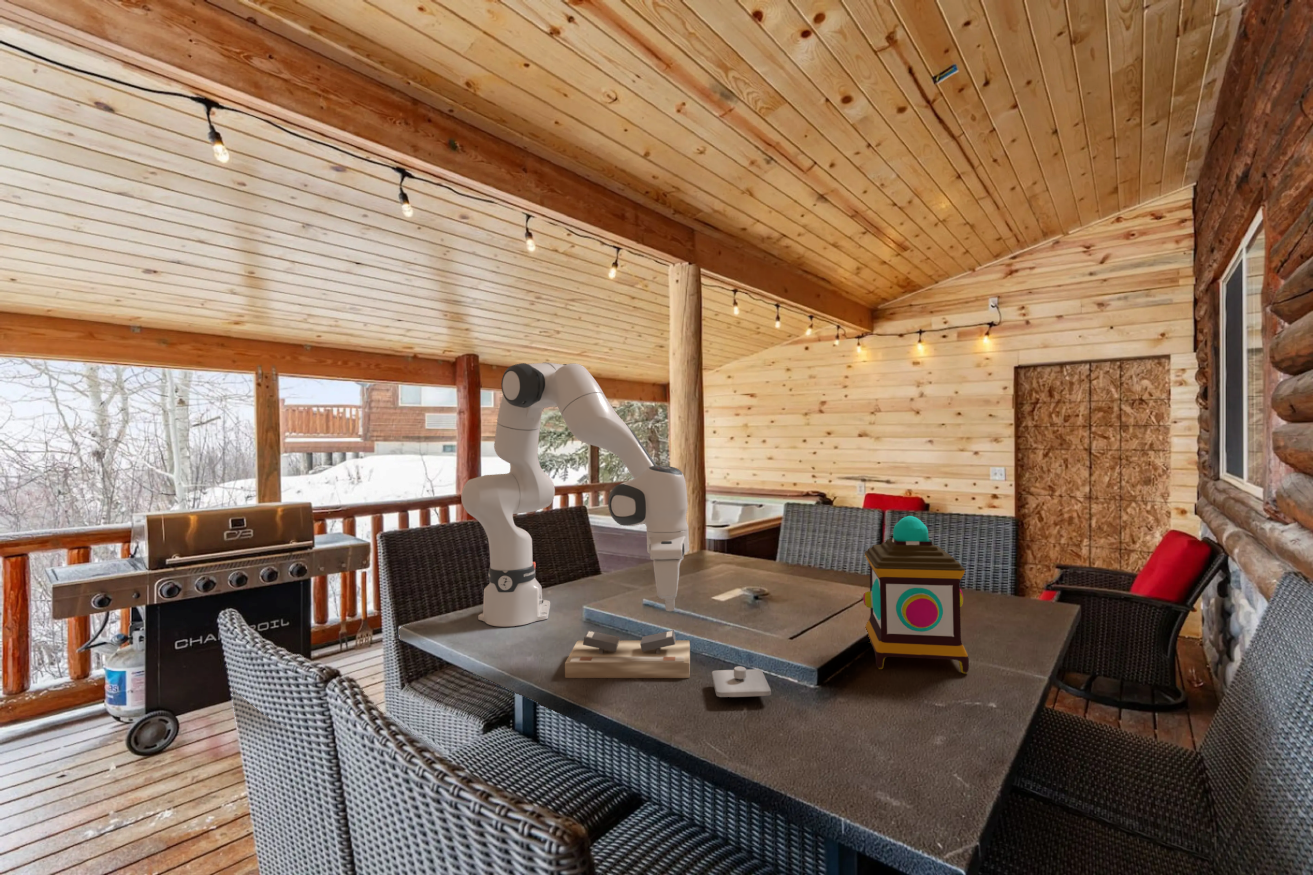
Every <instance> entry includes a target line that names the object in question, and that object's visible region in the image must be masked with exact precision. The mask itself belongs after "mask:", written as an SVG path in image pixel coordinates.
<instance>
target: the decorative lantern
mask: <svg viewBox="0 0 1313 875" xmlns="http://www.w3.org/2000/svg"><path fill="white" fill-rule="evenodd" d="M864 556H865V558H866V560H867V563H868V565H869V566H868V567H869V591H865V592H864V593H863V596H862V600H863V601H862V602H863V604H864V606H865V607H866V608H869V610H870V616H869V618H868V620H867V622H866V623H865V624H866V625H865V627H864V629H865V628H866V630H867V632H868V637H869V639H870V642H869V643H870V644H871V646H872V648H873V651H874V656H875V665H876V668H878V670H882V669H883V668H884V663H885V659H886V658H888V657H891V658H892V657H893V658H907V659H908V658H909V659H910V658H913V659H929V660H930V659H933V660H951V661H954V660H955V661H958V665H959V670H960V672H961V673H962V674H967V673H968V672H969V667H970V663H969V662H970V659H969V655H968V652H967V650H966V648H965V646H964V644H963V641H962V633H961V631H962V630H961V627H962V626H961V623H962V622H961V607H962V606H963V604H964V594H963V591H962V589H961V580H962V578H963V577H964V574H965V572H966V569H965V567H964V566H963V565H961V563H960V562H959V561H958V560H956V559H955V558H954V557H953V556H952V555H950V554H949V553H948V552H947V551H945V550H944V549H943V548H941V547H940V546H939V545H936V544H934V543H933V541H932V540H931V539H930V538H929V530H928V527H927V526H926V524H924V522H923V521H922V520H921V519H919V518H918V517H916V516H912V515H908V516H904V517H903V518H901V519H900V520H898V522H897V523H896V524H895V525H894V527H893V530H892V535H890V538H887V539H886V540H885V541H884V542H881V544H873V545H872V546H871V547H868V548H867V550H866V551H864Z"/></svg>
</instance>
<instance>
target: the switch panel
mask: <svg viewBox="0 0 1313 875" xmlns="http://www.w3.org/2000/svg"><path fill="white" fill-rule="evenodd" d="M583 642H584V640H577V641H576V642H575V645H574V646H573V648H572V650H571V651H570V652H569V655H568V657H567V658H566V660H565V662H564V678H565V679H576V678H577V679H587V678H588V679H592V678H593V679H596V678H597V679H598V678H599V679H607V678H608V679H653V678H654V679H663V678H664V679H690V677H691V676H690V672H691V671H690V668H691V645H690V643H691V642H690V640H689V639H688V640H682V639H681V640H680V639H679V640H678V639H675V645H671V646H666V647H661V648H657V649H652V650H647V651H643V652H642V649H641V645H640V643H641V640H619V644H618V647H617V650H616V652H615V651H610V650H605V649H601V648H596V647H591V646H586V645H583Z"/></svg>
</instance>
